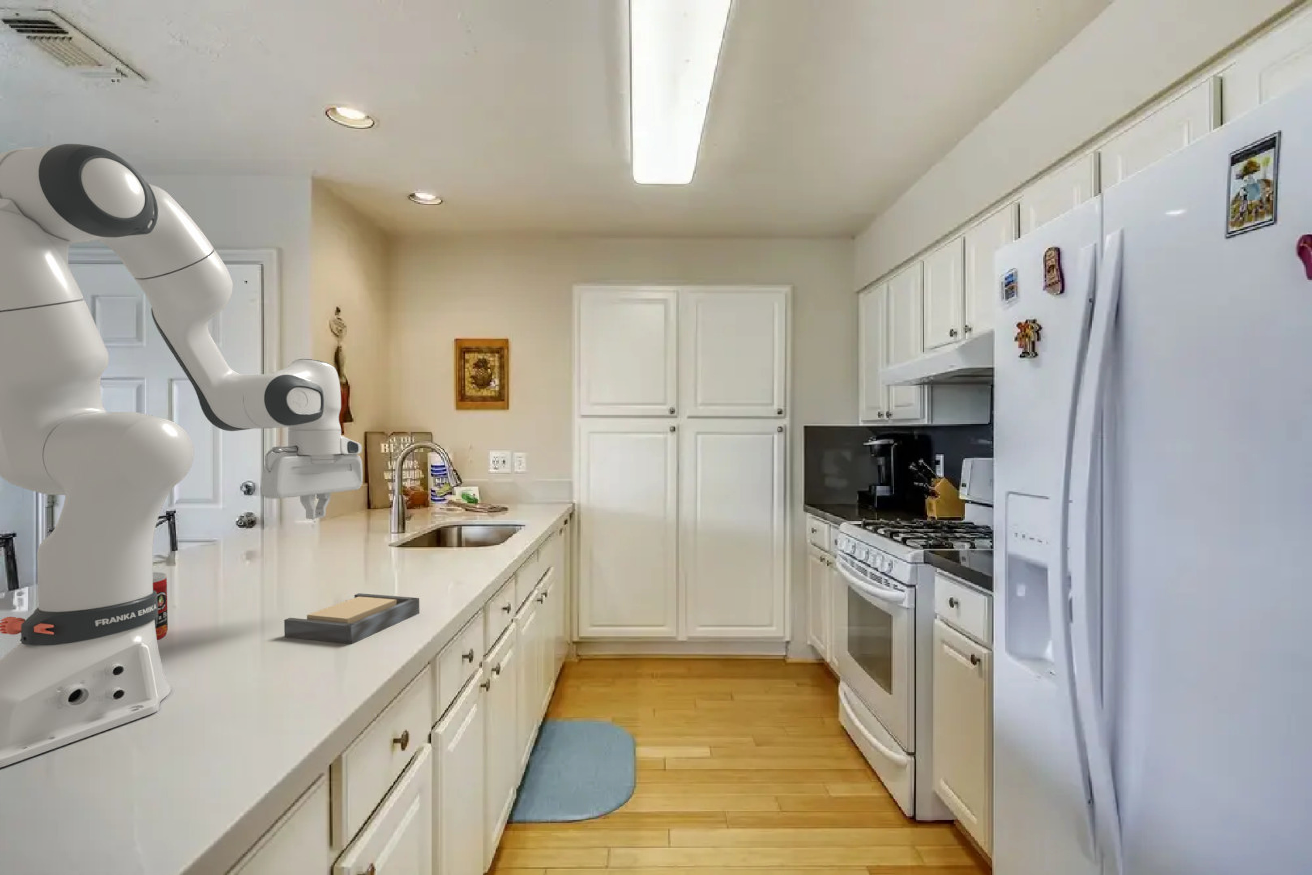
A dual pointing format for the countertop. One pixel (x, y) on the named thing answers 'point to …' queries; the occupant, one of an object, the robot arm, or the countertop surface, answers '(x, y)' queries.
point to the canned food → (161, 603)
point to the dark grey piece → (353, 630)
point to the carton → (352, 610)
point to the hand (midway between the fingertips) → (315, 518)
